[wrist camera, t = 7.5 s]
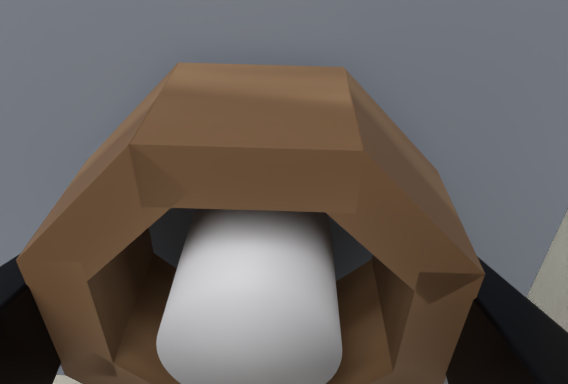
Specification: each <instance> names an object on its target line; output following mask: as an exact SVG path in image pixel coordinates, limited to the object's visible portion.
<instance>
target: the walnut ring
mask: <svg viewBox="0 0 568 384" xmlns="http://www.w3.org/2000/svg"><path fill="white" fill-rule="evenodd" d="M170 208H194V209H228V210H263V211H297V212H326V213H327V214H328V215H329V216H330V217H331V218H332V219H333V220H335V221H336V222H337V223H338V224H339V225H340V226H341V227H343V228H344V229H345V230H346V231H347V232H348V233H349V234H350V235H352V236H353V237H354V238H355V239H356V240H357V241H358V242H359V243H361V244H362V245H363V246H364V247H365V248H366V249H367V250H369V251H370V252H371V253H372V259H371V260H370V261H368V262H367V263H365V264H363V265H362V266H360V267H358V268H357V269H355V270H354V271H352V272H350V273H349V274H347V275H346V276H344V277H342V278H341V279H339V280H338V281H336V289H337V299H338V310H339V320H340V330H341V341H342V359H341V363H340V366H339V368H338V370H337V372H336V373H335V374H334V376H333V377H332V378H331V379H330V380H329V381H328V382H327V383H326V384H444V381H445V379H446V371H447V369H448V366H449V363H450V361H451V358H452V355H453V353H454V350H455V347H456V345H457V342H458V339H459V337H460V334H461V331H462V329H463V326H464V323H465V321H466V318H467V315H468V313H469V310H470V307H471V305H472V302H473V300H474V299H475V298H476V297H477V295H478V292H479V289H480V287H481V284H482V281H483V279H484V276H485V272H484V270H483V268H482V266H481V264H480V262H479V260H478V257H477V255H476V253H475V251H474V249H473V247H472V244H471V242H470V240H469V238H468V236H467V234H466V232H465V229H464V227H463V225H462V223H461V221H460V219H459V216H458V214H457V212H456V210H455V208H454V206H453V204H452V201H451V199H450V197H449V195H448V193H447V191H446V188H445V186H444V184H443V182H442V180H441V178H440V176H439V173H438V171H437V169H436V168H435V167H434V166H433V165H432V164H431V163H430V162H429V161H428V160H427V158H426V157H425V156H424V155H423V154H422V153H421V152H420V151H419V150H418V149H417V147H416V146H415V145H414V144H413V143H412V142H411V141H410V140H409V139H408V137H407V136H406V135H405V134H404V133H403V132H402V131H401V130H400V129H399V128H398V126H397V125H396V124H395V123H394V122H393V121H392V120H391V119H390V118H389V116H388V115H387V114H386V113H385V112H384V111H383V110H382V109H381V108H380V107H379V105H378V104H377V103H376V102H375V101H374V100H373V99H372V98H371V97H370V95H369V94H368V93H367V92H366V91H365V90H364V89H363V88H362V87H361V86H360V84H359V83H358V82H357V81H356V80H355V79H354V78H353V77H352V76H351V74H350V73H349V72H348V71H347V70H346V69H345V68H344V67H327V66H290V65H254V64H217V63H181V62H178V63H177V64H176V65H175V66H174V67H173V69H172V70H171V71H170V72H169V73H168V74H167V75H166V76H165V77H164V78H163V79H162V80H161V81H160V82H159V84H158V85H157V86H156V87H155V88H154V89H153V90H152V91H151V92H150V93H149V94H148V95H147V96H146V97H145V99H144V100H143V101H142V102H141V103H140V104H139V105H138V106H137V107H136V108H135V109H134V110H133V111H132V113H131V114H130V115H129V116H128V117H127V118H126V119H125V120H124V121H123V122H122V123H121V124H120V125H119V126H118V128H117V129H116V130H115V131H114V132H113V133H112V134H111V135H110V136H109V137H108V138H107V139H106V140H105V141H104V143H103V144H102V145H101V146H100V147H99V148H98V149H97V150H96V151H95V152H94V153H93V154H92V155H91V156H90V158H89V159H87V161H86V162H85V163H84V165H83V166H82V168H81V169H80V171H79V172H78V173H77V175H76V176H75V178H74V179H73V180H72V182H71V183H70V185H69V186H68V187H67V189H66V190H65V192H64V193H63V194H62V196H61V197H60V199H59V200H58V201H57V203H56V204H55V206H54V207H53V208H52V210H51V211H50V213H49V214H48V216H47V217H46V218H45V220H44V221H43V223H42V224H41V225H40V227H39V228H38V230H37V231H36V232H35V234H34V235H33V237H32V238H31V239H30V241H29V242H28V244H27V245H26V246H25V248H24V249H23V251H22V252H21V253H20V255H19V256H18V258H17V259H16V262H17V264H18V267H19V269H20V271H21V274H22V276H23V278H24V281H25V283H26V285H28V286H29V288H30V290H31V292H32V295H33V297H34V299H35V302H36V304H37V306H38V309H39V311H40V314H41V316H42V318H43V321H44V323H45V325H46V328H47V330H48V332H49V335H50V337H51V339H52V342H53V344H54V346H55V349H56V351H57V353H58V356H59V358H60V360H61V367H62V369H63V371H64V374H65V375H66V376H68V377H70V378H72V379H74V380H76V381H78V382H80V383H82V384H181V383H179V382H178V381H177V380H176V379H174V378H173V377H172V376H171V375H170V374H169V373H168V371H167V370H166V369H165V367H164V366H163V364H162V363H161V361H160V359H159V356H158V353H157V347H156V341H157V334H158V331H159V328H160V324H161V321H162V317H163V314H164V311H165V307H166V304H167V301H168V297H169V294H170V290H171V287H172V284H173V280H174V277H175V273H176V270H177V268H175V267H174V266H172V265H171V264H169V263H168V262H166V261H165V260H163V259H162V258H160V257H159V256H158V255H156V254H155V253H154V252H153V247H152V242H151V236H150V231H149V227H150V226H151V225H152V224H153V223H154V222H155V221H157V220H158V219H159V218H160V217H161V216H162V215H163V214H165V213H166V212H167V211H168V210H169V209H170Z"/></svg>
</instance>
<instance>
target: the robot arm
mask: <svg viewBox="0 0 568 384" xmlns="http://www.w3.org/2000/svg"><path fill="white" fill-rule="evenodd" d="M19 255H20V254H19ZM19 255H17V256H16V257H14V258H12V259H11V260H9V261H8V262H6V263H5V264H3V265H2V266H0V384H53V381H54V379H55V377H56V374H57V372H58V369H59V367H60V365H61V360H60V358H59V356H58V353H57V351H56V349H55V346H54V344H53V342H52V339H51V337H50V335H49V332H48V330H47V328H46V325H45V323H44V321H43V318H42V316H41V314H40V311H39V309H38V306H37V304H36V302H35V299H34V297H33V295H32V292H31V290H30V288H29V286H28V285H26V283H25V281H24V278H23V276H22V274H21V271H20V269H19V267H18V264H17V262H16V259H17V258H18V256H19ZM477 257H478V256H477ZM478 260H479V262H480V264H481V266H482V268H483V270H484V272H485V276H484V279H483V281H482V284H481V287H480V289H479V292H478V295H477V297H476V298H475V299H474V300H473V302H472V305H471V307H470V310H469V313H468V315H467V318H466V321H465V323H464V326H463V329H462V331H461V334H460V337H459V339H458V342H457V345H456V347H455V350H454V353H453V355H452V358H451V361H450V363H449V366H448V369H447V371H446V378H447V381H448V384H568V332H567V331H565V330H564V329H563V328H562V327H561V326H560V325H558V324H557V323H556V322H555V321H554V320H552V319H551V318H550V317H549V316H548V315H546V314H545V313H544V312H543V311H542V310H541V309H539V308H538V307H537V306H536V305H535V304H533V303H532V302H531V301H530V300H529V299H528V298H526V297H525V296H524V295H523V294H522V293H520V292H519V291H518V290H517V289H516V288H514V287H513V286H512V285H511V284H510V283H509V282H507V281H506V280H505V279H504V278H503V277H501V276H500V275H499V274H498V273H497V272H496V271H494V270H493V269H492V268H491V267H490V266H488V265H487V264H486V263H485V262H484V261H483V260H481V259H480V258H479V257H478Z"/></svg>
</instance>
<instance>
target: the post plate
mask: <svg viewBox="0 0 568 384" xmlns="http://www.w3.org/2000/svg"><path fill="white" fill-rule="evenodd" d="M178 62H181V63H217V64H254V65H290V66H327V67H344V68H345V69H346V70H347V71H348V72H349V73H350V74H351V76H352V77H353V78H354V79H355V80H356V81H357V82H358V83H359V84H360V86H361V87H362V88H363V89H364V90H365V91H366V92H367V93H368V94H369V95H370V97H371V98H372V99H373V100H374V101H375V102H376V103H377V104H378V105H379V107H380V108H381V109H382V110H383V111H384V112H385V113H386V114H387V115H388V116H389V118H390V119H391V120H392V121H393V122H394V123H395V124H396V125H397V126H398V128H399V129H400V130H401V131H402V132H403V133H404V134H405V135H406V136H407V137H408V139H409V140H410V141H411V142H412V143H413V144H414V145H415V146H416V147H417V149H418V150H419V151H420V152H421V153H422V154H423V155H424V156H425V157H426V158H427V160H428V161H429V162H430V163H431V164H432V165H433V166H434V167H435V168H436V169H437V171H438V173H439V176H440V178H441V180H442V182H443V184H444V186H445V188H446V191H447V193H448V195H449V197H450V199H451V201H452V204H453V206H454V208H455V210H456V212H457V214H458V216H459V219H460V221H461V223H462V225H463V227H464V229H465V232H466V234H467V236H468V238H469V240H470V242H471V244H472V247H473V249H474V251H475V253H476V255H477V256H478V257H479V258H480V259H481V260H483V261H484V262H485V263H486V264H487V265H488V266H490V267H491V268H492V269H493V270H494V271H496V272H497V273H498V274H499V275H500V276H501V277H503V278H504V279H505V280H506V281H507V282H509V283H510V284H511V285H512V286H513V287H514V288H516V289H517V290H518V291H519V292H520V293H522V294H523V295H524V296H525V297H527V294H528V292H529V290H530V288H531V286H532V284H533V282H534V280H535V277H536V275H537V273H538V271H539V269H540V267H541V265H542V263H543V260H544V258H545V256H546V254H547V252H548V250H549V248H550V245H551V243H552V241H553V239H554V237H555V235H556V233H557V231H558V228H559V226H560V224H561V222H562V220H563V218H564V216H565V214H566V211H567V209H568V0H0V266H2V265H3V264H5V263H6V262H8V261H9V260H11V259H12V258H14V257H16V256H17V255H19V254H20V253H21V252H22V251H23V249H24V248H25V246H26V245H27V244H28V242H29V241H30V239H31V238H32V237H33V235H34V234H35V232H36V231H37V230H38V228H39V227H40V225H41V224H42V223H43V221H44V220H45V218H46V217H47V216H48V214H49V213H50V211H51V210H52V208H53V207H54V206H55V204H56V203H57V201H58V200H59V199H60V197H61V196H62V194H63V193H64V192H65V190H66V189H67V187H68V186H69V185H70V183H71V182H72V180H73V179H74V178H75V176H76V175H77V173H78V172H79V171H80V169H81V168H82V166H83V165H84V163H85V162H86V161H87V159H89V158H90V156H91V155H92V154H93V153H94V152H95V151H96V150H97V149H98V148H99V147H100V146H101V145H102V144H103V143H104V141H105V140H106V139H107V138H108V137H109V136H110V135H111V134H112V133H113V132H114V131H115V130H116V129H117V128H118V126H119V125H120V124H121V123H122V122H123V121H124V120H125V119H126V118H127V117H128V116H129V115H130V114H131V113H132V111H133V110H134V109H135V108H136V107H137V106H138V105H139V104H140V103H141V102H142V101H143V100H144V99H145V97H146V96H147V95H148V94H149V93H150V92H151V91H152V90H153V89H154V88H155V87H156V86H157V85H158V84H159V82H160V81H161V80H162V79H163V78H164V77H165V76H166V75H167V74H168V73H169V72H170V71H171V70H172V69H173V67H174V66H175V65H176V64H177V63H178ZM149 231H150V236H151V242H152V247H153V252H154V253H155V254H156V255H158V256H159V257H160V258H162V259H163V260H165V261H166V262H168V263H169V264H171V265H172V266H174V267H175V268H177V270H176V273H175V277H174V280H173V284H172V287H171V290H170V294H169V297H168V301H167V304H166V307H165V311H164V314H163V317H162V321H161V324H160V328H159V331H158V334H157V341H156V347H157V353H158V356H159V359H160V361H161V363H162V364H163V366H164V367H165V369H166V370H167V371H168V373H169V374H170V375H171V376H172V377H173V378H174V379H176V380H177V381H178V382H179V383H181V384H326V383H327V382H328V381H329V380H330V379H331V378H332V377H333V376H334V374H335V373H336V372H337V370H338V368H339V366H340V363H341V359H342V341H341V330H340V320H339V310H338V299H337V289H336V281H338V280H339V279H341V278H342V277H344V276H346V275H347V274H349V273H350V272H352V271H354V270H355V269H357V268H358V267H360V266H362V265H363V264H365V263H367V262H368V261H370V260H371V259H372V253H371V252H370V251H369V250H367V249H366V248H365V247H364V246H363V245H362V244H361V243H359V242H358V241H357V240H356V239H355V238H354V237H353V236H352V235H350V234H349V233H348V232H347V231H346V230H345V229H344V228H343V227H341V226H340V225H339V224H338V223H337V222H336V221H335V220H333V219H332V218H331V217H330V216H329V215H328V214H327V213H326V212H297V211H263V210H228V209H194V208H170V209H169V210H168V211H167V212H166V213H165V214H163V215H162V216H161V217H160V218H159V219H158V220H157V221H155V222H154V223H153V224H152V225H151V226H150V227H149ZM56 375H65V374H64V371H63V369H62V367H61V365H60V367H59V369H58V372H57V374H56ZM444 384H448V381H447V378H446V379H445V381H444Z"/></svg>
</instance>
